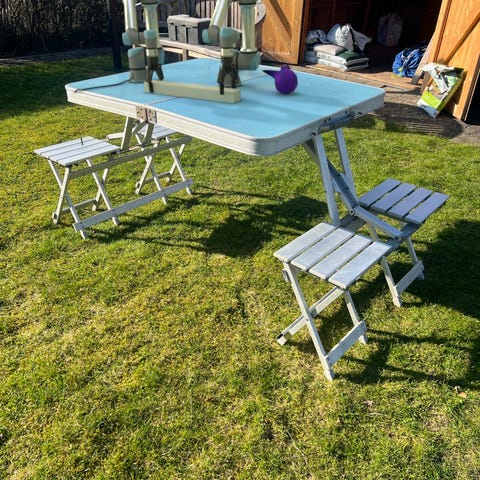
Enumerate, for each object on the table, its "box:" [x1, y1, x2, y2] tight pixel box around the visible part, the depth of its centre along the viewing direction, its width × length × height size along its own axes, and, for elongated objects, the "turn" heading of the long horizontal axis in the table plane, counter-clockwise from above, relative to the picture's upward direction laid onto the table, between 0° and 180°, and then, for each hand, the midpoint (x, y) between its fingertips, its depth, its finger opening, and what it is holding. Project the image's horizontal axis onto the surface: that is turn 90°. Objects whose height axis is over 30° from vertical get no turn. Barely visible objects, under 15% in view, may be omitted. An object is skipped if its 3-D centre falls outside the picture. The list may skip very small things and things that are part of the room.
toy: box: [261, 64, 299, 95], centre depth 294 cm, size 16×18×27 cm
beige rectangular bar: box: [143, 79, 242, 104], centre depth 292 cm, size 71×9×7 cm, turn 59°
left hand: (156, 91), depth 306 cm, fingers closed on beige rectangular bar, 9 cm apart
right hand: (227, 92), depth 278 cm, fingers open, 13 cm apart
